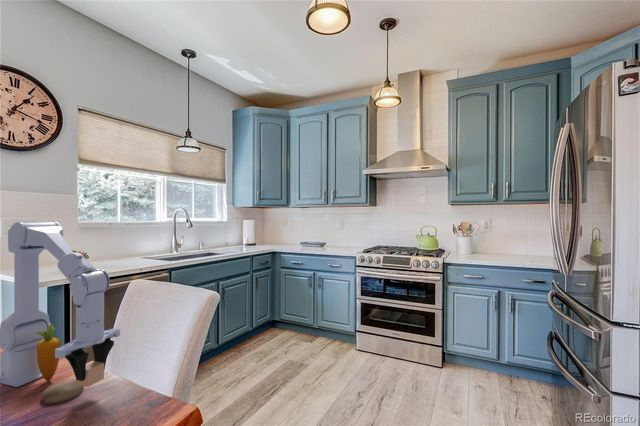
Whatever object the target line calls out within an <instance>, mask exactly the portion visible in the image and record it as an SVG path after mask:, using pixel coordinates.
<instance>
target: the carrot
mask: <svg viewBox="0 0 640 426" xmlns="http://www.w3.org/2000/svg"><path fill="white" fill-rule="evenodd" d="M55 330H56V328H55V327H54V324H51V325H49V332H48V334H47V332H46V330H44V331H43V332H40V331H38V332H37V334H40V335H42V336H43V337H44V340H42V341H40V342H39V343H38V344H37V361H38V366H39V369H40V372H41V374H42V376H43V377H42V378H44V380H45V381H46V382H50V381H51V380H52V379H53V377H54V375H55V374H56V372H57V369H58V365H59V362H60V361H59V360H60V358H55V349H57V348H60V347H61V341H60V339H59V338H57V337H53V334H54V332H55Z"/></svg>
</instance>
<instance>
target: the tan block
mask: <svg viewBox="0 0 640 426" xmlns="http://www.w3.org/2000/svg"><path fill="white" fill-rule="evenodd" d="M104 379H105V366H104V363H102V362H97V361H94V360H91V361H89V362H88V361H87V362H86V375H85V380H83V381H79V380H76V384H78V385H82V386H84V387H86V388H88V387H90V386H92V385H95V384H96V383H99V382H100V381H102V380H104Z"/></svg>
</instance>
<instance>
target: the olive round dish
mask: <svg viewBox="0 0 640 426" xmlns="http://www.w3.org/2000/svg"><path fill="white" fill-rule="evenodd" d="M84 387H85V386H82V385H78V384H76V378H75V379H74V378H73V379H67V380H62V381H60V382H56V383H54V384H51V385H50V386H48V387H47V388H45V389H44V390H43V392H42V401H43V403H45V404H57V403H62V402H66V401H69V400H71V399H73V398H75V397H77V396H79V395H80V394H82V392H83V391H84Z"/></svg>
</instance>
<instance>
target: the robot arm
mask: <svg viewBox="0 0 640 426" xmlns="http://www.w3.org/2000/svg"><path fill="white" fill-rule="evenodd" d="M7 248H8V252H9V253H13V254H14V260H13V261H14V264H13V265H14V266H13V267H14V268H13V269H14V270H13V271H14V272H13V273H14V275H13V276H14V279H13V280H14V281H13V282H14V283H13V286H14V289H13V290H14V291H13V292H14V295H13V296H14V299H13V300H14V305H13V306H14V307H13V308H14V311H13V312H12V314H10V315H9V316H7V317H6V318H5V319H3V320H2V321H1V322H0V349H2V350H3V351H2V353H1V354H0V384H4V385H7V386H12V387H13V388H14V387H15V388H18V387H21V386H22V385H25V384H27V383H30V382H33V381H35V380H37V379H40V378H44V377H43V376H42V374H41V372H40V369H39V366H38V361H37V344H38V343H39V342H40V341H42V340H44V337H43V336H42V335H40V334H37V332H38V331H40V332H43V331H44V330H46V332H47V334H48V332H49V325H52V324H51V322H50V315H49V314H48V312H46V311H44V310H40V309H39V307H40V306H39V305H40V304H39V303H40V301H39V300H40V299H39V297H40V295H39V294H40V291H39V290H40V289H39V288H40V287H39V286H40V285H39V283H40V282H39V281H40V280H39V277H40V276H39V271H40V270H39V268H40V267H39V265H40V264H39V259H40V258H39V256H40V254H41V253H42V252H43V251H44V250H47V251H48V253H50V254H51V255H52V256H53V257H54V258H55V259H57V261H58V262H57V269H58V270H59V271H60V272H61V273H62V275H63V276H64V277H65V279H66V280H68V281H69V291H70V293H71V296H72V302H73V304H74V305H75V339H74V340H72V341H70V342H68V343H65V344H64V345H62V346H60V348H57V349H55V358H59V360H60V359H64V358H65V359H66V360H67V362H68V363H69V365H70V367H71V368H72V371H73V374H74V377H75V379H76V380H79V381H83V380H85V375H86V363H88V358H89V355H90V353H89V352H86V351H85V350H84V349H86V348H89V347H91V348H92V353H93V359H94V360H93V361H97V362H102V363H104V367H105V365H106V362H107V359H108V356H109V354H110V352H111V350H112V348H113V346H114V345H115V341H114V340H111V339H112V338H118V337H120V336H121V329H120V328H118V327H114V328H110V329H107V330H105V293H106V292H107V291H108V290H109V288H110V285H111V279H110V276H109V274H108V273H107V271H106V270H104V269H99V268H95V267H94V266H93V265H92V264H91V262H89V260H88V259H87V258H86V257H85V256H84V255H83V253H81V252H74V251H73V249H72V248H71V247H70V245H69V244H68V243H67V241H66V240H65V238H64V228H63V227H62V225H61V224H60V223H59V222H58V221H46V222H45V221H43V222H41V221H38V222H37V221H36V222H35V221H33V222H21V221H16V222H14V223H13V224H12V225H11V226H10V228H9V229H8V231H7Z"/></svg>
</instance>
